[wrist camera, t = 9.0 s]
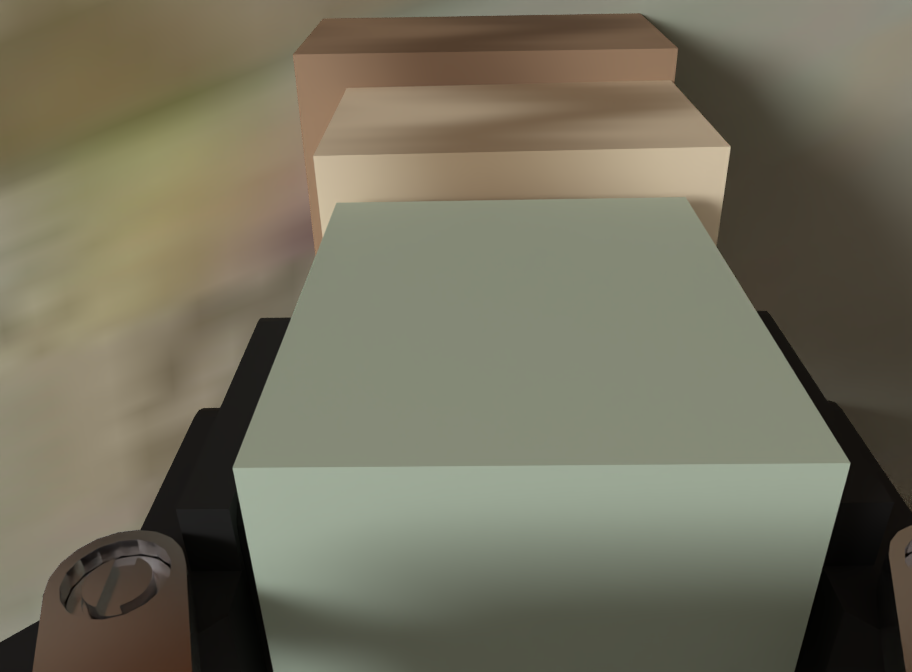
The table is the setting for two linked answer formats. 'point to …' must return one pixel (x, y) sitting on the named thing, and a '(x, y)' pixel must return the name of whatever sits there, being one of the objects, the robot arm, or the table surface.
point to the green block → (533, 450)
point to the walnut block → (466, 60)
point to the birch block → (521, 145)
